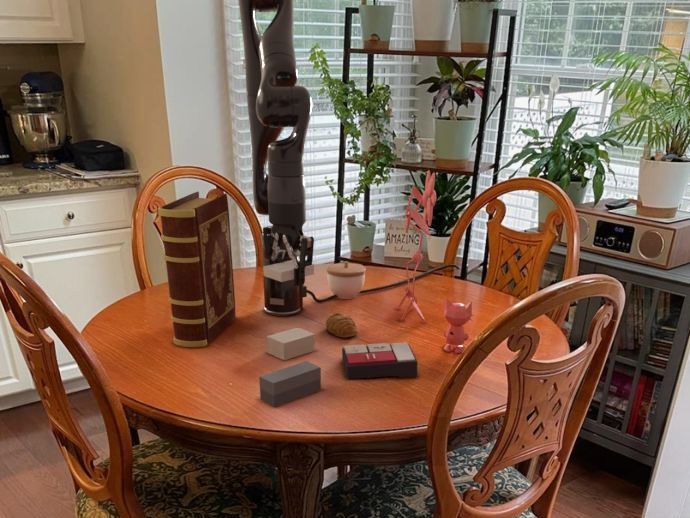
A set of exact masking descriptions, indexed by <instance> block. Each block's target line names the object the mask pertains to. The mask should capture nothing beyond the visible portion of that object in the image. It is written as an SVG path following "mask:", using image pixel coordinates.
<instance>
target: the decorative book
mask: <svg viewBox="0 0 690 518" xmlns="http://www.w3.org/2000/svg"><path fill="white" fill-rule="evenodd" d="M157 213H158V216H160V223H161V233H162V234H160V237H161V241H163V248H164V254H163V255H162V256H163V260H164V261H165V267H166V275H167V285H168V291H169V297H168V303H169V304H170V308H171V309H170V311H171V315H170V321H171V322H172V326H173V334H174V336H172V339H173V340H172V341H173V344H174V345H176V346H178V347H182V348H190V349H191V348H203V347H206V346H207V345H208V344H209V343H210V342H211V341H212V340H214V338H216V337H217V336H218V335H219V334H220V333H222V331H223V330H224V329H226V328H227V327H228V326H229V325H230V324H231V323H233V321H234V320H235V319H236V296H235V295H236V294H235V282H234V281H235V279H234V268H233V266H234V265H233V252H232V251H233V250H232V239H231V237H232V236H231V224H230V210H229V201H228V194H227V192H225V193H223V194H221V195H220V196H218V197H216V198H209V197H208V198H205V197H200V192H199V191H196V192H192V193H190V194H188V195H186V196H183V197H181V198H179V199H176V200H174V201H171V202H169V203H166V204H165V205H163V206H158V207H157Z"/></svg>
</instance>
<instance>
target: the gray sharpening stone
mask: <svg viewBox="0 0 690 518" xmlns="http://www.w3.org/2000/svg"><path fill="white" fill-rule="evenodd" d="M258 379H259V397H260V399H259V400H260V401H262V402H264V403H266V404H268V405H269V406H272V407H273V408H277V407H278V406H282V405H284V404H286V403H290V402H291V401H292V402H293V401H295V400H298V399H300V398H304V397H306V396H308V395H311V394H314V393H317V392H320V391H321V390H322V366H320V365H317V364H314V363H312V362H310V361H307V360H305V361H301V362H299V363H296V364H295V363H294V364H293V365H289V366H285V367H282V368H280V369H277V370H274V371H271V372H268V373H265V374H262V375H259V376H258Z"/></svg>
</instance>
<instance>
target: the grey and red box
mask: <svg viewBox="0 0 690 518" xmlns="http://www.w3.org/2000/svg"><path fill="white" fill-rule="evenodd" d="M341 356H342V364H343V367H344V371H345V376H346V379H347V380H356V379H371V378H384V377H397V378H399V379H406V378H416V377H418V359H417V357H416V355H415V353H414V351H413V349H412V347H411V345H410V344H409V343H408V342H405V341H404V342H394V343H389V342H380V343H368V344H367V345H366V344H352V345H344V347H341Z"/></svg>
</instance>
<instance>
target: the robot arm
mask: <svg viewBox="0 0 690 518" xmlns="http://www.w3.org/2000/svg"><path fill="white" fill-rule="evenodd" d="M238 8H239V16H240V24H241V31H242V41H243V51H244V53H243V54H244V66H245V67H244V68H245V69H244V70H245V90H246V91H245V92H246V104H247V114H248V123H249V131H250V132H249V133H250V143H251V167H252V173H251V174H252V175H251V176H252V198H253V206H254V209H255V211H256V213H257V214H258V215H261V216H268V222H269V223H270V224H271V225H270V226H264V227H263V228H262V233H261V236H260V238H261V257H262V258H261V259H262V260H261V261H262V267H263V266H268V265H272V264H277V263H282V262H286V261H291V260H292V261H293V264H294V267H295V268H294V279H292V280H288V281H284V282H280V281H277V280H274V279H271V278H269V277H266V276H264V273H263V272H262V279H263V282H262V283H263V298H264V299H263V300H264V301H263V302H264V303H263V304H264V307H263V309H264V313H266V314H268V315H270V316H275V317H276V316H277V317H288V316H294V315H297V314H299V313H300V312H301V311H303V310H304V298H307V297H308V295H310V296H311V297H312V299H313V301H314V302H316V303H324V302H328V301H330V300H333V299H335V298H337V297H338V296H337V295H335V294H333V295H331V296H328V297H326V298H324V299H319V298H317V296H316V295H315V294H314V292H313V291H311V290H308V288H307V287H308V286H307V285H305V282H306V276H305V267H306V266H310V265H313V260H314V259H313V257H314V246H315V238H314V236H307V235H305V233H304V229H303V227H304V225H305V224H306V222H307V210H306V209H307V208H306V207H307V205H306V203H307V201H306V198H307V197H306V182H305V175H304V174H305V166H304V165H305V164H304V160H305V159H304V158H305V157H304V155H305V154H304V153H305V144H306V143H305V142H306V137H307V132H308V129H309V125H310V121H311V116H312V112H313V99H312V96H311V93H310V91H309V89H308V88H306V87H305V86H303V85H297V83H298V79H299V72H298V64H297V57H296V52H295V43H294V41H295V40H294V36H295V35H294V30H295V29H294V28H295V13H294V0H238ZM256 13H275V15H274V17H273V18H272V20H271V21H270V23H269V24H268V26H267V27H266V28H265V30H264V31H263V33H261V30H260V28H259V26H258V23H257V19H256ZM285 128H292V132H291V133H290V135H289V136H287V137H285V138H282V139H279V138H280V136H281V135H282V133H283V131H284V129H285ZM278 139H279V140H278ZM267 171H268V172H267ZM298 260H299V261H300V262H298ZM447 268H455V269H457V270H461V268H460V267H459V265H457V264H456V263H455V264H454V263H449V264H446V265H443V266H440V267H435V268H432V269H430V270H427V271H425V272H422V273H420V274H417V275H415V280H417V279H419V278H422V277H424V276H427V275H428V274H429V275H430V274H431V273H433V272H438V271H442V270H444V269H447ZM411 281H413V276H412V277H409V282H411ZM405 283H408V279H407V278H406V279H404V280H401V281H398V282H394V283H391V284H387V285H382V286H379V287H374V288H373V287H372V288H368V289H362V290H361V291H360V293H359V294H358V295H361V294H367V293H371V292H376V291H382V290H386V289H389V288H393V287H396V286H399V285H404V284H405Z"/></svg>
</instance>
